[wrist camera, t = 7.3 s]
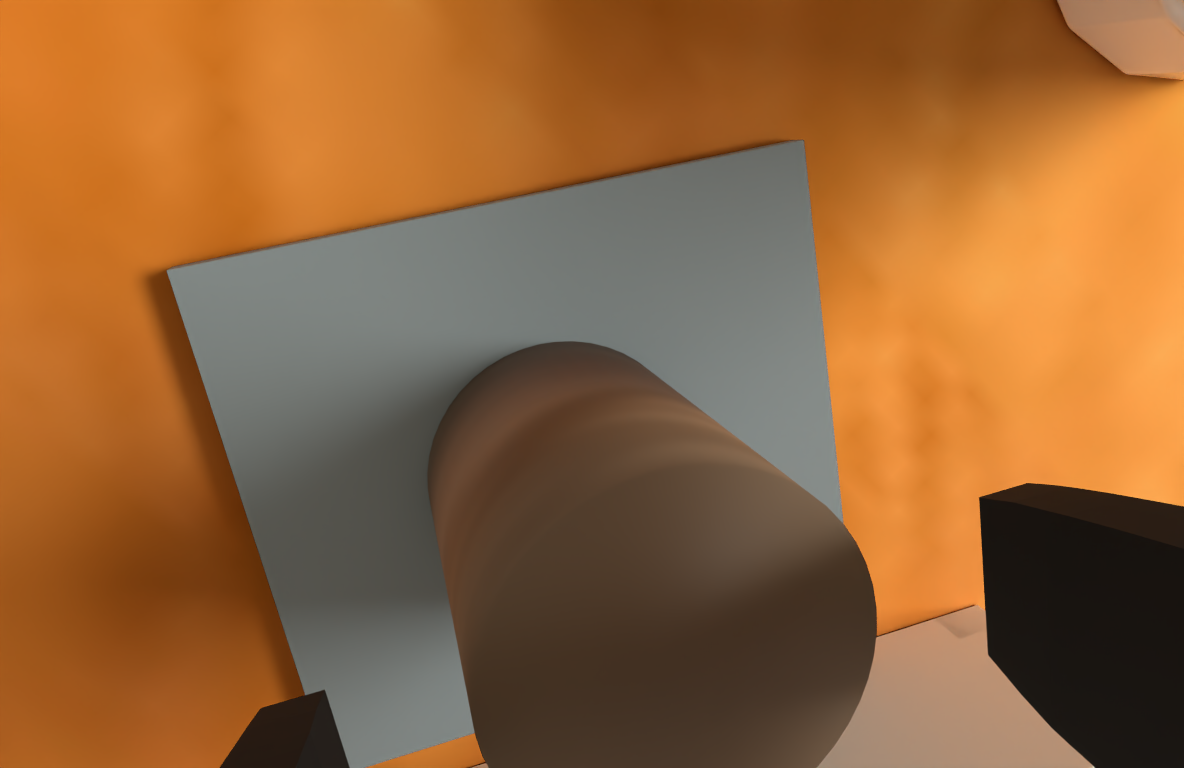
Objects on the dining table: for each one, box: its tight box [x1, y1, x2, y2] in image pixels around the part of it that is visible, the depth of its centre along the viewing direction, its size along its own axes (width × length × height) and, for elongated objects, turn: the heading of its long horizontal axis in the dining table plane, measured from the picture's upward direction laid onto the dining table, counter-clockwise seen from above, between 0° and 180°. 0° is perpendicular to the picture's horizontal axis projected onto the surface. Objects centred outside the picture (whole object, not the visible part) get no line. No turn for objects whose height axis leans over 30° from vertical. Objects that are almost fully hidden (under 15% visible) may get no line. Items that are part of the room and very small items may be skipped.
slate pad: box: [167, 140, 843, 768], centre depth 15 cm, size 10×9×1 cm
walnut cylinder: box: [427, 341, 877, 768], centre depth 12 cm, size 4×4×6 cm
